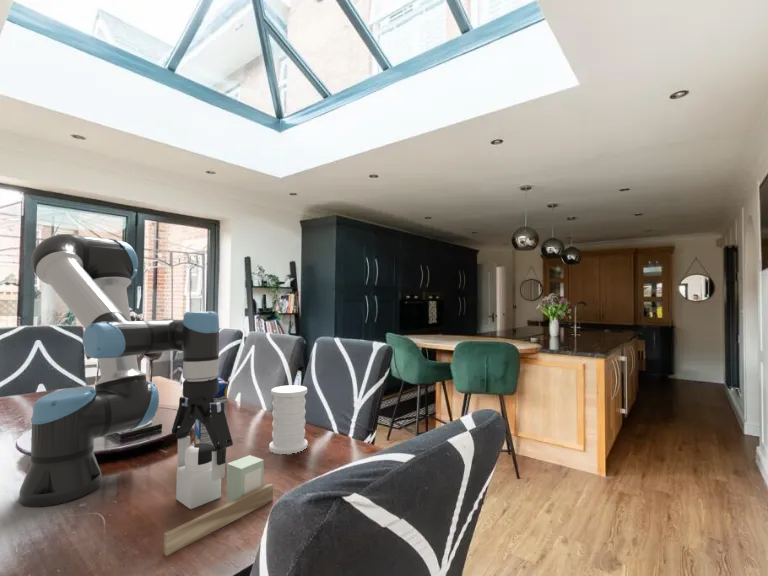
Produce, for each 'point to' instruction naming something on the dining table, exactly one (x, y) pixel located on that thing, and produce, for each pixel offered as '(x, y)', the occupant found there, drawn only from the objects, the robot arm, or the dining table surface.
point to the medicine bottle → (197, 477)
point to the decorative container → (288, 419)
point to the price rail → (215, 519)
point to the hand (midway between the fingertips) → (200, 471)
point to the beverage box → (199, 428)
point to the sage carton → (244, 476)
